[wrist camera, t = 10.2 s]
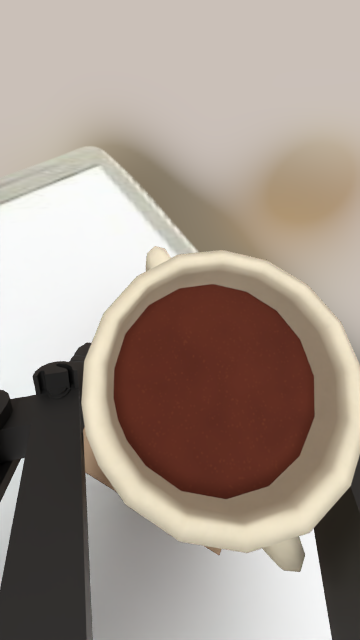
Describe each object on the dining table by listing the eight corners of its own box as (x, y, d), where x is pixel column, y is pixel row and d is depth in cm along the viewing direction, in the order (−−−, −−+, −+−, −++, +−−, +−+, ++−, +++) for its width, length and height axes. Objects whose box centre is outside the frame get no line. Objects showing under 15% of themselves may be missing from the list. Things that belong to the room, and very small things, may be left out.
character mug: (112, 342, 18) (29, 230, 6) (191, 314, 20) (251, 180, 8) (160, 487, 15) (187, 830, 3) (248, 440, 17) (491, 547, 5)
